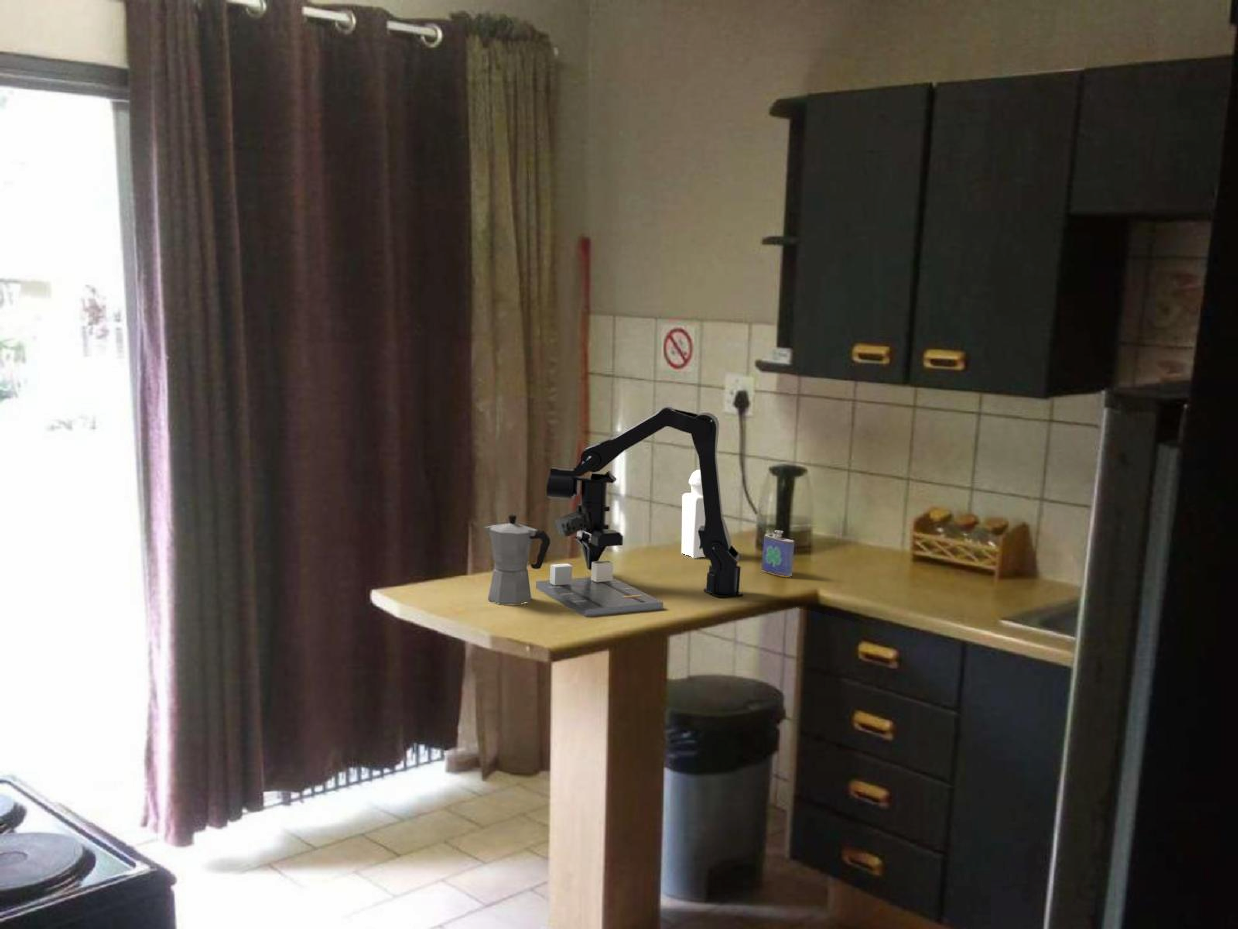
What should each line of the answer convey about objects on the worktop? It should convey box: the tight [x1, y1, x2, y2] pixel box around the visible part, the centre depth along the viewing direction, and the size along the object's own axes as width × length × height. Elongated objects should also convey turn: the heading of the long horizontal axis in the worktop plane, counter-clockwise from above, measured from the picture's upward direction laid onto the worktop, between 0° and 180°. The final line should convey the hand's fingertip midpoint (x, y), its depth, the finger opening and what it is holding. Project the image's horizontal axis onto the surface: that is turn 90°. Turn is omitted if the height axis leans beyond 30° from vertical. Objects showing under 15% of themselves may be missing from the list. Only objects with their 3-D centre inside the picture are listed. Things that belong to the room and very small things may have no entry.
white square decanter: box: [680, 469, 705, 559], centre depth 288 cm, size 6×6×22 cm
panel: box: [535, 576, 664, 618], centre depth 243 cm, size 18×24×2 cm
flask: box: [761, 529, 795, 577], centre depth 273 cm, size 9×3×11 cm, turn 37°
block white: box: [549, 563, 573, 585], centre depth 247 cm, size 4×2×4 cm, turn 118°
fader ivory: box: [590, 560, 614, 582], centre depth 252 cm, size 4×2×4 cm, turn 118°
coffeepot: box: [483, 514, 551, 605], centre depth 237 cm, size 15×9×18 cm, turn 66°
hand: (590, 569), depth 257 cm, fingers closed
